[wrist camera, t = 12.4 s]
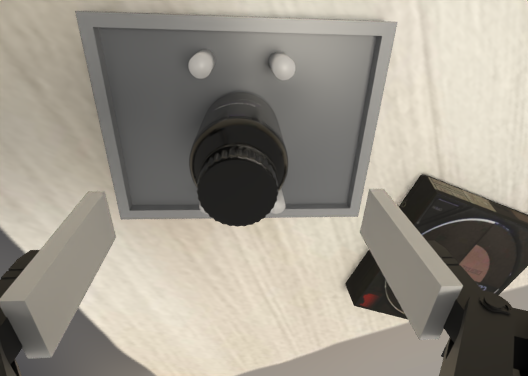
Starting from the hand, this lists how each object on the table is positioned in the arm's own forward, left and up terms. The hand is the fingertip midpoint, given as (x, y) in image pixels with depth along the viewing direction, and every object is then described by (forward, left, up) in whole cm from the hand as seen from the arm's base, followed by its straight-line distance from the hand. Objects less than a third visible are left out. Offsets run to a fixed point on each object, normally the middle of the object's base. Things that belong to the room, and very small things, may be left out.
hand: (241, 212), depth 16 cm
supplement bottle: (0, 0, -15) cm, 15 cm away
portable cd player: (+24, -16, -17) cm, 33 cm away
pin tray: (0, 0, -16) cm, 16 cm away
